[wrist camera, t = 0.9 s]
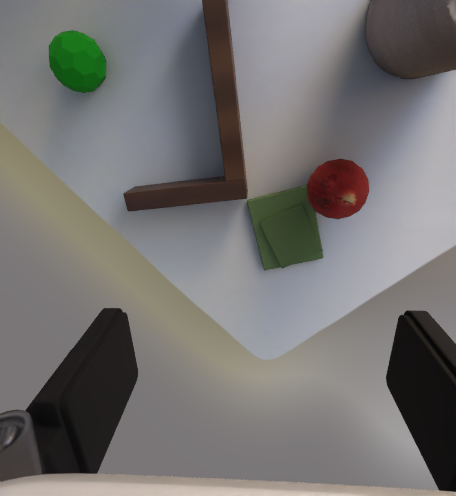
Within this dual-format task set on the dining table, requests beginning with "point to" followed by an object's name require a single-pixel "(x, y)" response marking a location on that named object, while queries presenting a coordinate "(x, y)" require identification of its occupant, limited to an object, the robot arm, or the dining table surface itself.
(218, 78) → the corner stop
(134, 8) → the dining table surface
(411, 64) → the pillar candle
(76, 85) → the polyhedron
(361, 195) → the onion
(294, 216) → the green rag
